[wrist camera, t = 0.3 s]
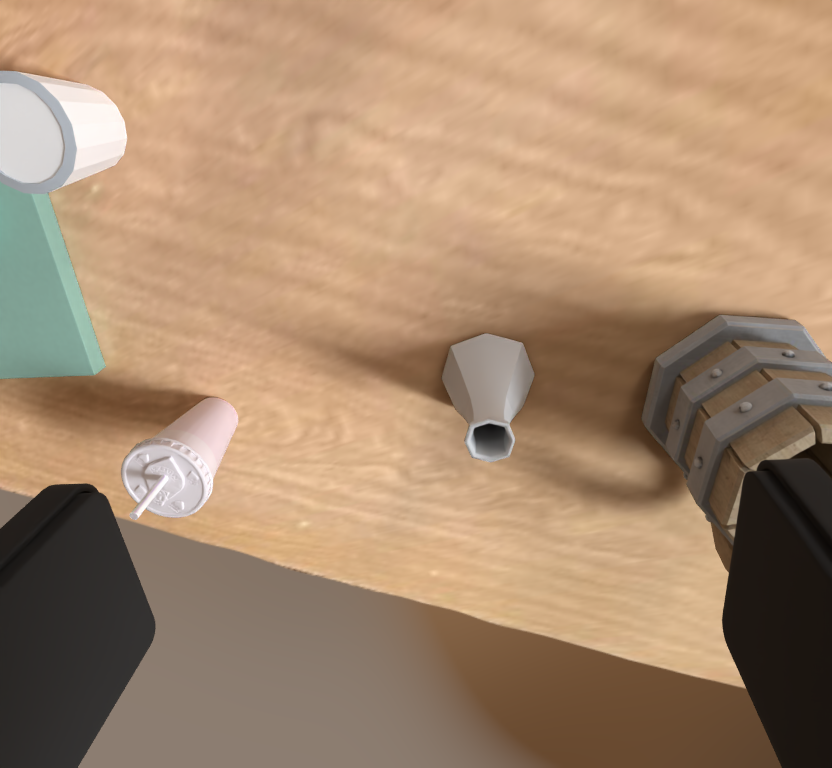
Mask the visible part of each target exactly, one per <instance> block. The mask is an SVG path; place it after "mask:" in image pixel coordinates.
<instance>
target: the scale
mask: <svg viewBox="0 0 832 768" xmlns="http://www.w3.org/2000/svg"><path fill="white" fill-rule="evenodd" d="M105 367H106V366H105V363H104V360H103V357H102V354H101V351H100V348H99V345H98V342H97V339H96V336H95V333H94V330H93V327H92V324H91V321H90V318H89V315H88V312H87V309H86V306H85V303H84V300H83V297H82V294H81V291H80V288H79V285H78V282H77V279H76V276H75V273H74V270H73V267H72V264H71V261H70V258H69V255H68V252H67V249H66V246H65V243H64V240H63V237H62V234H61V231H60V228H59V225H58V222H57V219H56V216H55V213H54V210H53V207H52V204H51V201H50V198H49V195H48V193H47V194H29V193H22V192H20V191H18V190H16V189H14V188H11V187H9V186H7V185H5V184H3V183H2V182H0V379H10V378H36V377H61V376H87V375H95V374H97V373H98V372H99V371H101V370H102V369H104V368H105Z"/></svg>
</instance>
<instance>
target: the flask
mask: <svg viewBox="0 0 832 768" xmlns="http://www.w3.org/2000/svg"><path fill="white" fill-rule="evenodd" d="M534 376H535V374H534V371H533V369H532V366H531V363H530V361H529V358H528V355H527V353H526V350H525V348H524V345H523V343H522V342H518V341H514V340H511V339H507V338H503V337H499V336H495V335H491V334H487V333H485V334H482V335H479V336H477V337H474V338H471V339H468V340H466V341H463V342H460V343H457V344H455V345H452V346H451V347H450V350H449V354H448V357H447V361H446V364H445V368H444V371H443V375H442V381H443V383H444V385H445V387H446V390H447V392H448V394H449V396H450V398H451V401H452V403H453V405H454V407H455V409H456V410H457V411H458V413H459V414H460V415H461V416H462V417H463V418H464V419H465V420H466V421H467V423H468V424H469V428H468V431H467V434H466V437H465V444H466V446H467V448H468V450H469V453H470V455H471V457H472V458H475V459H479V460H483V461H487V462H494V461H497V460H500V459H503V458H507V457H509V456H510V453H511V450H512V448H513V445H514V442H515V437H514V435H513V432H512V430H511V427H510V425H509V424H510V422H511V421H512V420H513V418H514V417H515V416H516V414H517V413H518V412H519V411H520V410H521V409H522V407H523V406H524V403H525V400H526V397H527V395H528V392H529V389H530V387H531V384H532V381H533V378H534Z"/></svg>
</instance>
